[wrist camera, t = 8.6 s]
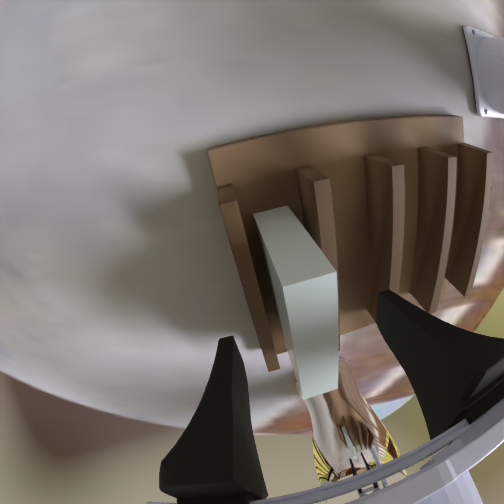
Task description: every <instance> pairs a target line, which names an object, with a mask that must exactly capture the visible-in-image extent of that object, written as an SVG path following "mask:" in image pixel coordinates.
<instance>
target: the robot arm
mask: <svg viewBox="0 0 504 504" xmlns="http://www.w3.org/2000/svg"><path fill="white" fill-rule="evenodd" d="M463 30H464V34H465V38H466V43H467V47H468V52H469V57H470V62H471V68H472V74H473V81H474V89H475V98H476V109H477V114H478V115H479V116H481V117H494V118H504V37H495V36H493V35H490V34H488V33H486V32H483V31H481V30H478V29H476V28H473V27H471V26H464V27H463ZM376 324H377V326H378V328H379V330H380V332H381V334H382V336H383V338H384V340H385V341H386V343H387V345H388V346H389V348H390V349H391V351H392V352H393V354H394V355H395V357H396V358H397V360H398V361H399V363H400V365H401V366H402V368H403V369H404V371H405V373H406V374H407V376H408V378H409V380H410V383H411V385H412V387H413V389H414V391H415V394H416V396H417V398H418V401H419V404H420V406H421V409H422V412H423V415H424V418H425V421H426V425H427V428H428V432H429V435H430V441H428V442H427V443H425V444H423V445H421V446H419V447H417V448H416V449H414V450H412V451H410V452H408V453H406V454H404V455H402V456H400V457H397V458H395V459H393V460H391V461H389V462H387V463H384V464H382V465H380V466H377V467H375V468H372V469H370V470H367V471H365V472H362V473H360V474H357V475H354V476H352V477H349V478H346V479H343V480H340V481H337V482H334V483H331V484H327V485H324V486H320V487H317V488H313V489H310V490H306V491H302V492H298V493H293V494H289V495H284V496H280V497H274V498H268V499H266V498H267V496H268V493H267V489H266V486H265V482H264V478H263V474H262V470H261V466H260V462H259V458H258V453H257V449H256V445H255V440H254V435H253V430H252V424H251V416H250V405H249V394H248V383H247V377H246V372H245V367H244V362H243V360H242V357H241V355H240V352H239V350H238V347H237V345H236V342H235V339H234V337H233V336H229V337H224V338H220V339H219V341H218V347H217V352H216V357H215V361H214V364H213V368H212V371H211V374H210V378H209V381H208V383H207V386H206V389H205V392H204V394H203V397H202V399H201V401H200V403H199V406H198V408H197V410H196V412H195V414H194V415H193V417H192V419H191V421H190V423H189V425H188V426H187V428H186V429H185V431H184V432H183V434H182V436H181V437H180V438H179V440H178V441H177V443H176V444H175V446H174V447H173V448H172V449H171V451H170V452H169V453H168V454H167V455H166V457H165V458H164V459H163V460H162V461H161V466H160V472H159V488H160V490H161V491H162V492H164V493H166V494H168V495H170V496H173V497H175V498H177V504H313V503H317V502H321V501H324V500H328V499H331V498H334V497H338V496H341V495H344V494H347V493H350V492H352V491H355V490H358V489H361V488H363V487H366V486H368V485H371V484H373V483H376V482H378V481H381V480H383V479H385V478H388V477H390V476H392V475H394V474H396V473H398V472H400V471H403V470H405V469H406V468H408V467H410V466H413V465H414V464H416V463H418V462H420V461H422V460H424V459H426V458H427V457H429V456H431V455H432V454H434V453H436V452H438V451H439V450H441V449H443V448H444V447H446V446H447V447H446V448H444V449H443V450H442V451H440V452H439V453H437V454H436V455H434V456H433V457H432V458H431V459H430V460H429V461H428V462H427V463H426V464H424V465H423V466H422V467H421V468H420V471H418V472H416V473H414V474H412V475H410V476H408V477H406V478H404V479H402V480H400V481H398V482H395V483H393V484H391V485H389V486H387V487H384V488H382V489H380V490H378V491H375V492H373V493H371V494H368V495H366V496H363V497H361V498H358V499H355V500H353V501H350V502H347V503H345V504H483V503H482V500H481V498H480V496H479V493H478V491H477V489H476V487H475V484H474V482H473V480H472V478H471V476H470V474H469V472H468V470H469V469H470V468H472V467H473V466H475V465H476V464H477V463H478V462H480V461H481V460H482V459H484V458H485V457H486V456H487V455H488V454H490V453H491V452H492V451H493V450H494V449H495V448H497V447H498V446H499V445H500V444H501V443H502V442H504V339H503V338H495V337H489V336H485V335H481V334H477V333H473V332H470V331H467V330H464V329H461V328H459V327H456V326H454V325H451V324H449V323H447V322H445V321H442V320H440V319H438V318H437V317H435V316H433V315H431V314H429V313H427V312H425V311H424V310H422V309H420V308H419V307H417V306H415V305H414V304H412V303H410V302H409V301H407V300H406V299H404V298H402V297H401V296H399V295H398V294H396V293H394V292H393V291H391V290H389V289H388V290H385V291H382V292H380V293H378V305H377V315H376ZM146 504H176V503H165V502H147V503H146Z"/></svg>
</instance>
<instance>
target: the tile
mask: <svg viewBox="0 0 504 504" xmlns="http://www.w3.org/2000/svg"><path fill="white" fill-rule="evenodd" d="M253 217H254V221H255V225H256V229H257V234H258V238H259V242H260V247H261V251H262V255H263V260H264V264H265V268H266V273H267V277H268V281H269V286H270V290H271V294H272V299H273V303H274V308H275V312H276V316H277V320H278V323H279V326H280V329H281V333H282V336H283V339H284V342H285V345H286V348H287V351H288V354H289V358H290V361H291V364H292V367H293V370H294V373H295V376H296V379H297V383H298V386H299V389H300V392H301V395H302V398H303V400H304V399H307V398H310V397H314V396H317V395H320V394H323V393H326V392H329V391H332V390H335V389H338V363H339V327H338V291H337V272H336V270H335V269H334V267H333V266H332V265H331V263H330V262H329V260H328V259H327V258H326V256H325V255H324V253H323V252H322V251H321V249H320V248H319V247H318V245H317V244H316V243H315V241H314V240H313V239H312V237H311V236H310V235H309V233H308V232H307V231H306V229H305V228H304V227H303V225H302V224H301V223H300V221H299V220H298V219H297V217H296V216H295V215H294V213H293V212H292V211H291V210H290V208H289V207H288V206H283V207H279V208H275V209H271V210H267V211H263V212H259V213H255V214H253Z"/></svg>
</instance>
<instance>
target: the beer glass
mask: <svg viewBox="0 0 504 504" xmlns="http://www.w3.org/2000/svg"><path fill="white" fill-rule="evenodd" d="M296 389H297V391H298V393H299V395H300V396H301V398H302V395H301V392H300V389H299V386H298V383H297V380H296ZM302 400H303V398H302ZM303 402H304V404H305V406H306V408H307V410H308V413H309V417H310V422H311V430H312V441H313V450H314V459H315V466H316V471H317V475H318V479H319V483H320V486H324V485H327V484H331V483H334V482H337V481H340V480H343V479H346V478H349V477H352V476H354V475H357V474H360V473H362V472H365V471H367V470H370V469H372V468H375V467H377V466H380V465H382V464H384V463H387V462H389V461H391V460H393V459H395V458H397V457H400V456H401V455H400V453H399V451H398V449H397V446H396V444H395V442H394V441H393V439H392V437H391V435H390V434H389V432H388V431H387V429H386V428H385V426H384V425H383V423H382V422H381V421H380V419H379V418H378V417H377V415H376V414H375V413H374V411H373V410H372V409H371V407H370V406H369V405H368V403H367V402H366V400H365V399H364V397H363V395H362V394H361V392H360V390H359V387H358V385H357V381H356V377H355V373H354V369H353V366H352V364H351V362H350V361H349V360H347V359H345V358H340V357H339V363H338V389H335V390H332V391H329V392H326V393H323V394H320V395H317V396H314V397H310V398H307V399H304V400H303ZM406 477H408V476H407V472H406V469H405V470H403V471H400V472H398V473H396V474H394V475H392V476H390V477H388V478H385V479H383V480H381V481H378V482H376V483H373V484H371V485H368V486H366V487H363V488H361V489H358V490H355V491H352V492H350V493H347V494H344V495H341V496H338V497H334V498H331V499H328V500H326V502H327V504H345V503H347V502H350V501H353V500H355V499H358V498H361V497H363V496H366V495H368V494H371V493H373V492H375V491H378V490H380V489H382V488H384V487H387V486H389V485H391V484H393V483H395V482H398V481H400V480H402V479H404V478H406Z"/></svg>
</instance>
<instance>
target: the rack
mask: <svg viewBox="0 0 504 504" xmlns="http://www.w3.org/2000/svg"><path fill="white" fill-rule="evenodd" d="M208 155H209V159H210V162H211V166H212V170H213V174H214V177H215V181H216V185H217V190H218V200H219V207H220V210H221V214H222V217H223V221H224V224H225V228H226V231H227V235H228V238H229V242H230V245H231V249H232V252H233V255H234V259H235V262H236V266H237V269H238V273H239V276H240V279H241V283H242V286H243V289H244V293H245V296H246V299H247V303H248V306H249V309H250V313H251V316H252V319H253V323H254V326H255V329H256V333H257V336H258V339H259V342H260V346H261V349H262V352H263V355H264V358H265V362H266V365H267V368H268V371H269V372H270V371H274V370H278V369H280V366H279V362H278V359H277V355H276V354H280V353H283V352H287V348H286V345H285V342H284V339H283V336H282V333H281V329H280V326H279V323H278V320H277V316H276V312H275V308H274V303H273V299H272V294H271V290H270V286H269V281H268V277H267V273H266V268H265V264H264V260H263V255H262V251H261V247H260V242H259V238H258V234H257V229H256V225H255V221H254V217H253V214H255V213H259V212H263V211H267V210H271V209H275V208H279V207H283V206H288V207H289V208H290V210H291V211H292V212H293V213H294V215H295V216H296V217H297V219H298V220H299V221H300V223H301V224H302V225H303V227H304V228H305V229H306V231H307V232H308V233H309V235H310V236H311V237H312V239H313V240H314V241H315V243H316V244H317V245H318V247H319V248H320V249H321V251H322V252H323V253H324V255H325V256H326V258H327V259H328V260H329V262H330V263H331V265H332V266H333V267H334V269H335V270H336V272H337V291H338V327H339V351H340V335H342V334H345V333H348V332H351V331H354V330H356V329H359V328H362V327H365V326H368V325H370V324H373V323H376V315H377V305H378V293H380V292H382V291H385V290H388V289H389V290H391V291H393V292H394V293H396V294H398V295H399V296H401V297H402V298H404V299H406V300H407V301H409V302H410V303H412V304H414V305H415V306H417V305H421V306H422V307H423V309H424V310H425V311H426V312H427V313H429V314H431V313H434V312H436V310H437V306H438V302H439V298H440V295H442V294H444V293H446V292H447V290H448V286H449V282H450V283H451V284H452V285H453V286H454V287H455V288H456V289H457V290H458V291H459V292H460V293H461V294H462V295H463V296H464V297H465V296H467V295H469V294H470V293H471V290H472V287H473V283H474V279H475V276H476V272H477V268H478V264H479V259H480V255H481V250H482V246H483V240H484V235H485V229H486V223H487V217H488V210H489V202H490V192H491V181H492V163H493V152H490V151H487V150H484V149H481V148H478V147H475V146H472V145H469V144H466V143H464V132H463V117H460V116H455V115H423V116H401V117H386V118H374V119H364V120H355V121H346V122H339V123H331V124H324V125H318V126H311V127H305V128H299V129H294V130H288V131H283V132H278V133H273V134H268V135H263V136H259V137H254V138H250V139H245V140H241V141H237V142H233V143H229V144H225V145H221V146H217V147H213V148H210V149H208Z"/></svg>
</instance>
